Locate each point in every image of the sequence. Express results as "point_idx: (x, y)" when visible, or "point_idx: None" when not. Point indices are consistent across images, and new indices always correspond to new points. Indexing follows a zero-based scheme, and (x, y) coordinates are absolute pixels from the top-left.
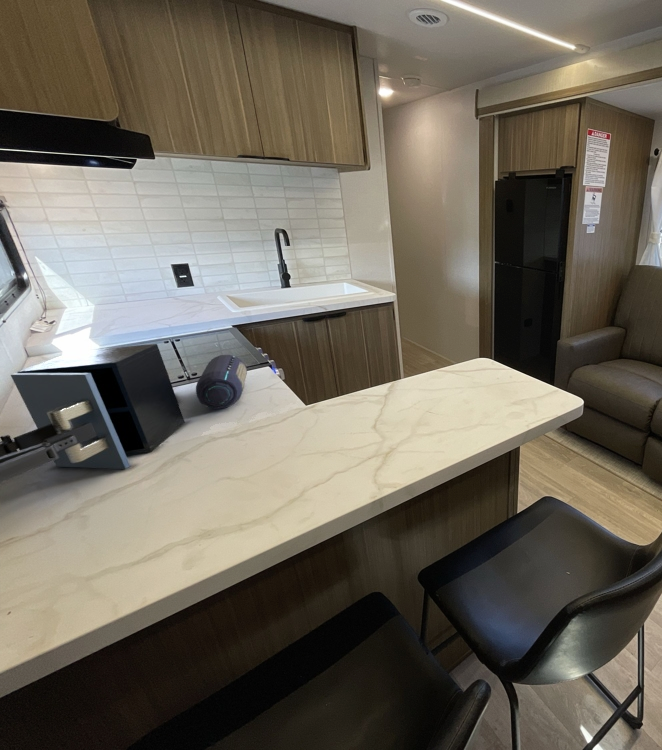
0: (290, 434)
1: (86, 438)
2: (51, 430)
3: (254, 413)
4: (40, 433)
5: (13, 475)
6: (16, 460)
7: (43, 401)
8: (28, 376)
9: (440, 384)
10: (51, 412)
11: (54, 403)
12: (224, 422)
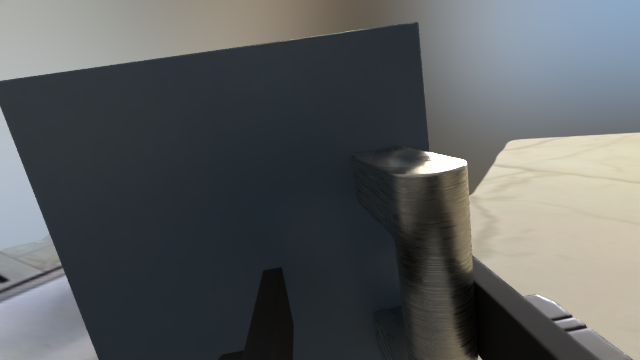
0: (582, 224)
1: None
2: (283, 320)
3: None
4: (280, 348)
5: None
6: None
7: (162, 200)
8: (108, 74)
9: (553, 153)
10: (460, 166)
11: (221, 198)
12: None
